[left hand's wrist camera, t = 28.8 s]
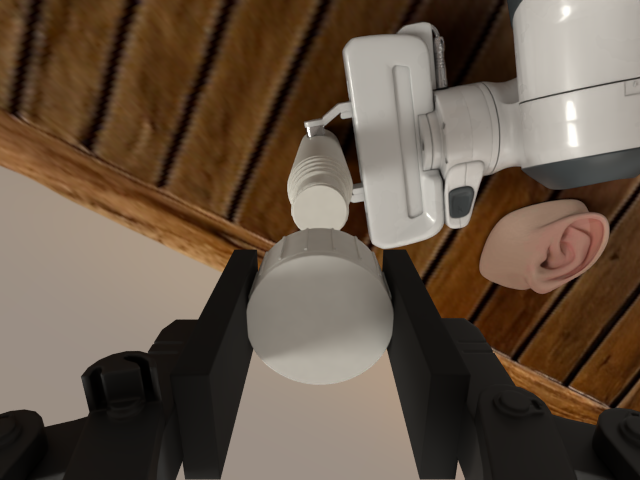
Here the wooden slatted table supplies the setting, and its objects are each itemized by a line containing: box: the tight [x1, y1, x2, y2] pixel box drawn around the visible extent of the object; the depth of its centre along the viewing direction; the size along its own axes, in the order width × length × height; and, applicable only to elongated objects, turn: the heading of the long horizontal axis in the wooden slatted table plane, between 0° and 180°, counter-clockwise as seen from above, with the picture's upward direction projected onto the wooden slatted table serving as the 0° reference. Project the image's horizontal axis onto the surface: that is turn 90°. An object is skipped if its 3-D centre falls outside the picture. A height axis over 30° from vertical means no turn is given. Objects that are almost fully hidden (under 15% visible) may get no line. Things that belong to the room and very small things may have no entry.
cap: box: [247, 228, 394, 385], centre depth 13 cm, size 4×4×2 cm
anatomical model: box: [479, 199, 609, 294], centre depth 49 cm, size 13×4×12 cm
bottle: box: [287, 129, 353, 230], centre depth 36 cm, size 5×5×25 cm
